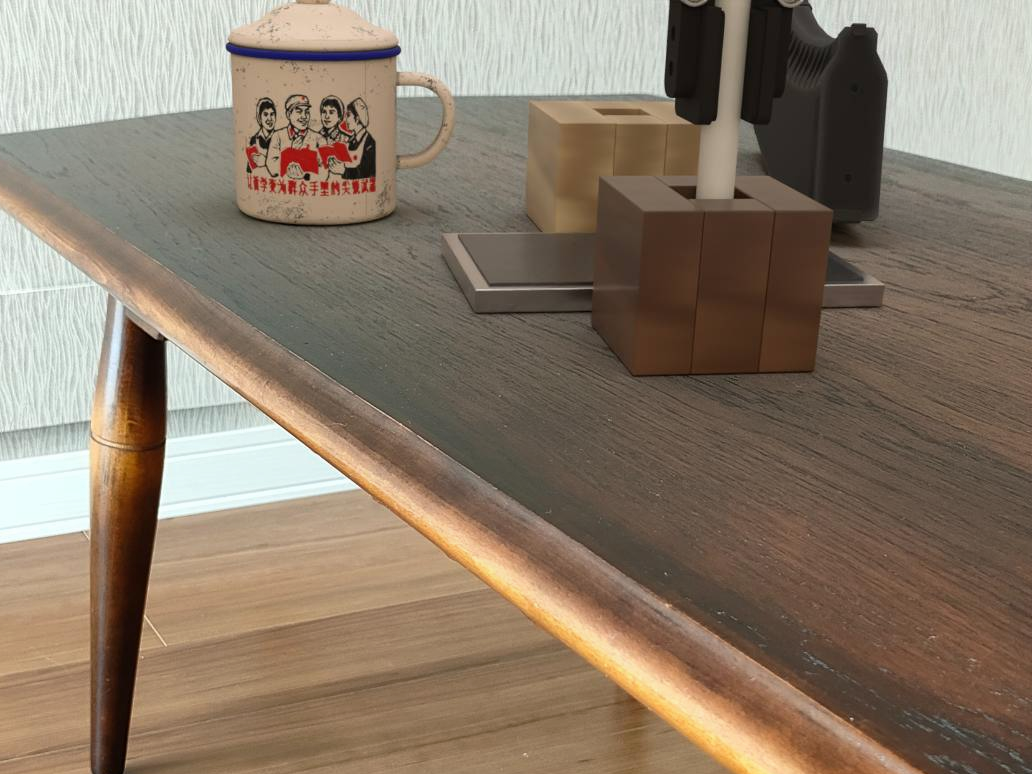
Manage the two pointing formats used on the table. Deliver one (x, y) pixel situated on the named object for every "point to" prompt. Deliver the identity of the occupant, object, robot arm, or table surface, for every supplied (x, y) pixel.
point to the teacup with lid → (321, 115)
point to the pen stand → (599, 154)
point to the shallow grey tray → (580, 273)
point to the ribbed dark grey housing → (830, 119)
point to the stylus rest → (709, 275)
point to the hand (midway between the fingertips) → (721, 116)
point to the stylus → (725, 108)
